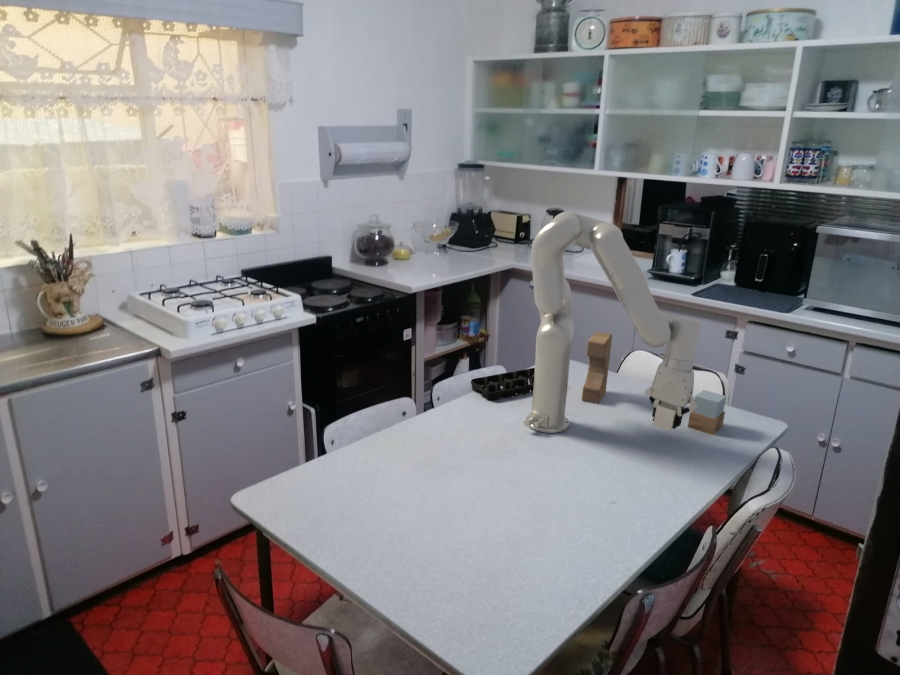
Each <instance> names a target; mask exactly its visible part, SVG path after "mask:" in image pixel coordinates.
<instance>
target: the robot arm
mask: <svg viewBox="0 0 900 675" xmlns="http://www.w3.org/2000/svg"><path fill="white" fill-rule="evenodd" d="M531 245H532V246H531V252H530V253H531V254H530V256H531V270H532V284H533V297H534V298H533V299H534V304H535V306H536V308H537V309H538V312H539V316H540V318H539V319H540V324H539V327H538V330H537V332H536V338H535V357H534V358H535V360H534V368H535V375H534V387H533V392H532V402H531V411H530V413H529V414H527V415H526V416H525V419H524V420H523V425H524V426H525V427H529V428H530V429H532V430H534V431H537V432H541V433H547V434H549V433H550V434H557V433H561V432H564V431H566V430H568V428H569V427H570V420H569V418H568V417H566V415H565V414H566V404H567V395H568V384H569V372H570V362H571V360H570V359H571V350H572V344H573V342H572V341H573V337H574V329H575V322H574V319H575V318H574V311H573V310H574V309H573V299H572V290H571V287H570V286H571V285H570V283H569V281H568V280H567V279H566V277H565V263H564V254H565V251H566V250H567V249H568V248H570V247H572V246H577V247H580V248H583V249H587V250H591V252H592V254H593V256H594V257H595V259H596V261H597V262H598V265H599V266H600V267H601V269H602V271H603V273H604V274H605V276H606V278H607V280H608V282H609V284H610V285H611V287H612V288H613V291H614V292H615V294H616V297H617V298H618V300H619V302H620V303H621V306H622V307H623V309H624V310H625V312H626V314H627V316H628V319H629V320H630V322H631V324H632V325H633V327H634V329H635V331H636V332H637V334H638V335H639V337H640V339H641V341H642V342H643V343H645V345H646V346H648V347H649V348H662V347H664V346H665V345H666V346H665V351H664V353H661V352H660V353H659V356H658V358H660V359H661V360H662V362H660V363H659V365H658V366H657V369H656V371H655V375H654V378H653V382H652V385H651V386H649V387H648V388H647V389H645V390H644V394H645V395H646V396H647V397H648V399H649V402H650V403H651V404H652V405H651V406H652V407H653V410H652V415H651V416H652V417H653V418H652V422H654V418H655V413H656V407H657V405H658V404H660V403H661V402H665V403H668V404H671V405H674V406H676V407H677V414H676V415H675V418H674V422H673V430H675V429H677V428H678V427H680V426H681V425H682V420H683V417H684V415H686V414H687V413H690V412H691V411H693V410H696V409H697V408H698V406H697V404H696V402H695V397H693V394H694V387H695V370H694V369H693V366H694V362H695V358H696V357H695V356H696V353H697V347H698V343H699V337H700V333H701V328H702V324H701V322H700V320H698V319H696V318H694V317H690V316H684V315H678V316H677V315H674V314H670V313H666V312H663V311H661V310H660V308H659V307H658V305H657V302H656V301H655V299H654V297H653V295H652V293H651V291H650V287H649V283H648V281H647V278H646V276H645V274H644V272H643V270H642V269H641V266H640V265H639V264H638V262H637V260H636V259H635V257H634V255H633V253H632V251H631V250H630V247H629V245H628V244H627V242H626V241H625V239H624V235H623V232H622V231H621V229H620V228H619V227H618V226H617V225H615V224H613V223H610V222H607V221H603V220H600V219H597V218H593V217H590V216H586V215H583V214H580V213H576V212H573V211H563V212H560V213H558V214H557V215H555V216H554V218H552V220H551V221H549V222H548V223H547V224H545V226H543V227H542V228H541V229H540V230H539V231H538V233H537V234H536V235H535V238H534V239H533V242H532V244H531ZM688 404H689V406H687V405H688Z"/></svg>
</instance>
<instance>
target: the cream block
mask: <svg viewBox="0 0 900 675" xmlns="http://www.w3.org/2000/svg"><path fill="white" fill-rule="evenodd" d="M676 414H677V407H676V406H674V405H671V404H668V403H665V402H661V403H660V404H658V405H657V407H656V413H655V418H654V421H653V424H652V425H653V426H655V427H658V428H660V429H663V430H666V431H668V432H672V431H673V430H674V429H673V422H674V418H675V415H676Z"/></svg>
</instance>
